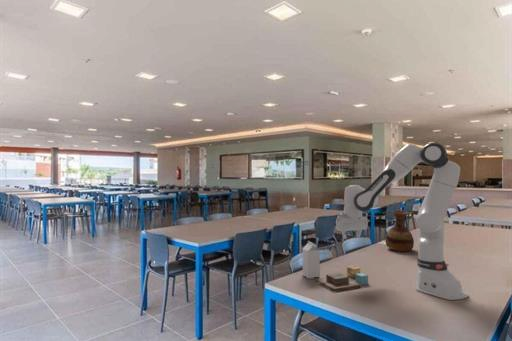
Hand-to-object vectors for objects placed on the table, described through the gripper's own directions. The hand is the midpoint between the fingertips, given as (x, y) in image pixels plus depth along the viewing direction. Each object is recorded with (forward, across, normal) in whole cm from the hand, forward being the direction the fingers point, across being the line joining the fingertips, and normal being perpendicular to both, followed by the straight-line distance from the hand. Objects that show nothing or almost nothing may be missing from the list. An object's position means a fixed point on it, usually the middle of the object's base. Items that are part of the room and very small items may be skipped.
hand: (351, 238), depth 177 cm
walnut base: (+21, -16, -8) cm, 28 cm away
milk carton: (+22, -21, +9) cm, 31 cm away
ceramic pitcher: (+21, +78, +35) cm, 88 cm away
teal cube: (+21, -4, -12) cm, 24 cm away
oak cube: (+21, +1, -1) cm, 21 cm away
